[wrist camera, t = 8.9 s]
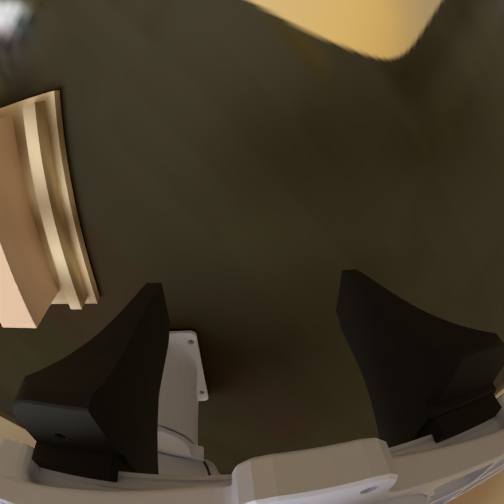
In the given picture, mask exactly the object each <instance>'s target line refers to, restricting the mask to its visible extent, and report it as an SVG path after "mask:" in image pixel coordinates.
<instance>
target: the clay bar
mask: <svg viewBox="0 0 504 504" xmlns="http://www.w3.org/2000/svg"><path fill="white" fill-rule="evenodd" d="M57 294H58V289H57V286H56V284H55V281H54V279H53V276H52V273H51V271H50V268H49V265H48V262H47V259H46V256H45V253H44V250H43V247H42V244H41V241H40V238H39V235H38V232H37V228H36V225H35V221H34V218H33V214H32V211H31V207H30V203H29V199H28V195H27V191H26V187H25V183H24V178H23V174H22V169H21V164H20V159H19V154H18V148H17V142H16V136H15V129H14V122H13V116H9V117H5V118H1V119H0V323H1V325H2V326H3V327H12V328H37V326H38V325H39V323H40V321H41V320H42V318H43V316H44V315H45V313H46V311H47V310H48V308H49V306H50V305H51V303H52V302H53V300H54V298H55V297H56V295H57Z"/></svg>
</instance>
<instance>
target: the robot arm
mask: <svg viewBox="0 0 504 504" xmlns="http://www.w3.org/2000/svg"><path fill="white" fill-rule="evenodd" d="M336 311H337V315H338V318H339V322H340V325H341V328H342V331H343V333H344V335H345V337H346V340H347V342H348V344H349V346H350V348H351V350H352V352H353V355H354V357H355V359H356V361H357V363H358V365H359V367H360V370H361V372H362V374H363V377H364V380H365V383H366V386H367V389H368V393H369V396H370V399H371V403H372V407H373V411H374V414H375V419H376V423H377V428H378V433H379V437H380V439H377V438H366V439H358V440H353V441H349V442H344V443H339V444H334V445H329V446H324V447H318V448H312V449H306V450H300V451H293V452H285V453H277V454H269V455H265V456H260V457H254V458H251V459H249V460H247V461H244V462H242V463H240V464H238V465H237V466H236V467H235V469H234V471H233V472H232V475H220V474H219V472H218V470H217V468H216V466H215V465H214V464H213V463H212V462H211V461H209V460H204V448H203V447H201V446H198V401H205V400H207V399H208V392H207V387H206V382H205V377H204V372H203V367H202V361H201V356H200V351H199V345H198V340H197V334H196V333H195V332H194V331H170V321H169V316H168V312H167V307H166V302H165V298H164V293H163V288H162V283H147V284H146V285H145V286H144V287H143V288H142V289H141V290H140V291H139V292H138V294H137V295H136V296H135V297H134V298H133V299H132V300H131V302H130V303H129V304H128V305H127V306H126V307H125V308H124V309H123V310H122V311H121V312H120V313H119V314H118V315H117V316H116V317H115V318H114V319H113V320H112V321H111V322H110V323H109V324H108V325H107V326H106V327H105V328H104V329H103V330H102V331H101V332H100V333H98V334H97V335H96V336H95V337H93V338H92V339H91V340H90V341H88V342H87V343H86V344H84V345H83V346H81V347H80V348H79V349H77V350H76V351H74V352H73V353H71V354H70V355H68V356H66V357H65V358H63V359H61V360H60V361H58V362H56V363H54V364H52V365H50V366H48V367H46V368H44V369H42V370H39V371H37V372H35V373H33V374H30V375H28V376H25V378H24V380H23V382H22V384H21V386H20V389H19V391H18V393H17V395H16V398H15V400H14V402H13V406H12V409H13V412H14V414H15V416H16V418H17V419H18V421H19V422H20V423H21V424H22V426H23V427H24V428H25V429H26V430H27V431H28V432H29V433H30V435H31V436H32V437H33V438H34V439H35V440H36V441H37V443H36V445H35V449H34V448H33V447H31V446H29V445H27V444H24V443H20V442H17V441H13V440H10V439H6V438H4V439H3V441H2V444H1V446H0V504H445V503H447V502H449V501H451V500H452V499H454V498H456V497H458V496H460V495H461V494H463V493H465V492H467V491H469V490H470V489H472V488H474V487H475V486H477V485H479V484H480V483H482V482H484V481H485V480H487V479H488V478H490V477H492V476H493V475H495V474H497V473H498V472H500V471H501V470H503V469H504V394H502V395H501V396H500V397H498V398H497V399H496V398H495V396H494V394H493V393H495V391H496V388H495V386H494V385H493V381H494V380H495V378H496V377H497V375H498V373H499V372H500V370H501V369H502V367H503V365H504V343H503V342H502V340H501V339H500V338H499V337H498V335H497V334H495V333H490V332H485V331H480V330H475V329H471V328H467V327H464V326H460V325H457V324H454V323H451V322H448V321H446V320H443V319H441V318H438V317H436V316H433V315H431V314H429V313H427V312H425V311H423V310H421V309H419V308H417V307H415V306H413V305H411V304H410V303H408V302H406V301H404V300H403V299H401V298H399V297H398V296H396V295H395V294H393V293H392V292H390V291H388V290H387V289H385V288H384V287H382V286H381V285H379V284H378V283H377V282H375V281H374V280H372V279H371V278H369V277H368V276H366V275H365V274H363V273H361V272H360V271H358V270H356V269H354V270H343V271H342V276H341V283H340V289H339V296H338V302H337V309H336ZM190 340H193V341H190Z"/></svg>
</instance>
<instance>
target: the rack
mask: <svg viewBox="0 0 504 504" xmlns="http://www.w3.org/2000/svg"><path fill="white" fill-rule="evenodd" d="M9 116H13V122H14V129H15V136H16V142H17V148H18V154H19V159H20V164H21V169H22V174H23V178H24V183H25V187H26V191H27V195H28V199H29V203H30V207H31V211H32V214H33V218H34V221H35V225H36V228H37V232H38V235H39V238H40V241H41V244H42V247H43V250H44V253H45V256H46V259H47V262H48V265H49V268H50V271H51V273H52V276H53V279H54V281H55V284H56V286H57V289H58V294H57V295H56V297H55V298H54V300H53V302H52V303H51V304H69V306H70V308H71V309H82V308H83V306H84V304H85V303H98V301H99V298H100V296H99V292H98V289H97V286H96V283H95V279H94V276H93V273H92V269H91V266H90V262H89V259H88V255H87V251H86V247H85V243H84V239H83V235H82V231H81V227H80V223H79V218H78V214H77V209H76V205H75V200H74V195H73V190H72V184H71V179H70V173H69V167H68V161H67V154H66V147H65V140H64V132H63V123H62V114H61V102H60V90H56V91H51V92H48V93H44V94H41V95H38V96H35V97H31V98H28V99H25V100H22V101H19V102H17V103H14V104H11V105H8V106H6V107H3V108H0V119H1V118H5V117H9Z"/></svg>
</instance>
